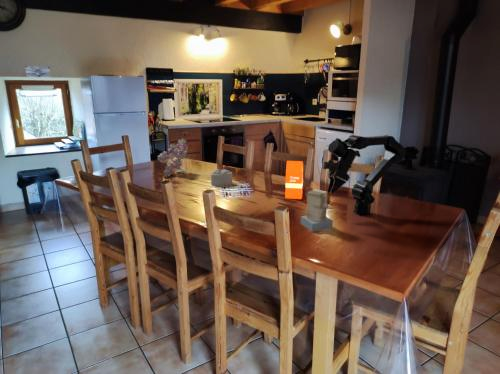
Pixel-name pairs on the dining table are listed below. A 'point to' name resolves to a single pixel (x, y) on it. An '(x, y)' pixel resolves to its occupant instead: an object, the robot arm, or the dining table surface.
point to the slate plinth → (316, 224)
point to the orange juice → (294, 179)
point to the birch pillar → (316, 205)
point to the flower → (177, 152)
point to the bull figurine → (308, 190)
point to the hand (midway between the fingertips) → (329, 192)
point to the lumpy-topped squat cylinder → (221, 178)
